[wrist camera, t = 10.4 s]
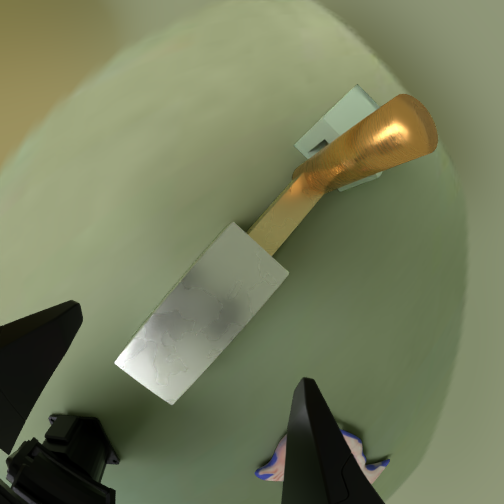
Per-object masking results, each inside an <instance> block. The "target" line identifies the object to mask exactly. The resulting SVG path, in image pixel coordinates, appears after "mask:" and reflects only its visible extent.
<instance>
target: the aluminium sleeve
mask: <svg viewBox="0 0 504 504" xmlns="http://www.w3.org/2000/svg"><path fill="white" fill-rule="evenodd" d="M289 274H290V273H289V272H288V271H287V270H286V269H285V268H284V267H283V266H282V265H280V264H279V263H278V262H277V261H276V260H275V259H274V258H273V257H272V256H271V255H270V254H268V253H267V252H266V251H265V250H264V249H263V248H262V247H261V246H260V245H259V244H257V243H256V242H255V241H254V240H253V239H252V238H251V237H250V236H249V235H248V234H246V233H245V232H244V231H243V230H242V229H241V228H240V227H239V226H238V225H237V224H235V223H234V222H232V223H230V224H229V225H228V226H226V227H225V228H224V229H223V230H222V231H221V232H220V234H219V235H218V236H217V237H216V238H215V239H214V240H213V241H212V243H211V244H210V245H209V246H208V247H207V248H206V249H205V251H204V252H203V253H202V254H201V255H200V256H199V257H198V259H197V260H196V261H195V262H194V263H193V264H192V266H191V267H190V268H189V269H188V270H187V271H186V273H185V274H184V275H183V276H182V277H181V278H180V280H179V281H178V282H177V283H176V284H175V285H174V287H173V288H172V289H171V290H170V291H169V293H168V294H167V295H166V296H165V297H164V299H163V300H162V301H161V302H160V303H159V305H158V306H157V307H156V308H155V309H154V311H153V312H152V313H151V314H150V315H149V317H148V318H147V319H146V320H145V322H144V323H143V324H142V325H141V327H140V328H139V329H138V330H137V331H136V333H135V334H134V335H133V336H132V338H131V339H130V340H129V342H128V343H127V344H126V346H125V347H124V349H123V350H122V352H121V353H120V355H119V356H118V358H117V359H116V361H115V362H114V363H115V364H116V365H118V366H119V367H120V368H121V369H123V370H124V371H125V372H126V373H128V374H129V375H130V376H131V377H133V378H134V379H135V380H137V381H138V382H139V383H141V384H142V385H143V386H145V387H146V388H148V389H149V390H150V391H152V392H153V393H155V394H156V395H157V396H159V397H160V398H162V399H163V400H165V401H166V402H168V403H169V404H171V405H173V404H174V403H175V402H176V401H177V400H178V399H179V398H180V396H181V395H182V394H183V393H184V392H185V391H186V390H187V389H188V388H189V387H190V386H191V385H192V384H193V383H194V382H195V381H196V380H197V379H198V377H199V376H200V375H201V374H202V373H203V372H204V371H205V370H206V369H207V368H208V367H209V366H210V364H211V363H212V362H213V361H214V360H215V359H216V358H217V357H218V356H219V355H220V353H221V352H222V351H223V350H224V349H225V348H226V347H227V346H228V345H229V343H230V342H231V341H232V340H233V339H234V338H235V337H236V336H237V334H238V333H239V332H240V331H241V330H242V329H243V328H244V327H245V325H246V324H247V323H248V322H249V321H250V320H251V319H252V317H253V316H254V315H255V314H256V313H257V312H258V310H259V309H260V308H261V307H262V306H263V305H264V303H265V302H266V301H267V300H268V299H269V298H270V296H271V295H272V294H273V293H274V292H275V290H276V289H277V288H278V287H279V286H280V284H281V283H282V282H283V281H284V280H285V278H286V277H287V276H288V275H289Z"/></svg>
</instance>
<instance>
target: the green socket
mask: <svg viewBox="0 0 504 504" xmlns="http://www.w3.org/2000/svg"><path fill="white" fill-rule="evenodd" d="M379 108H380V107H379V106H378V105H377V104H376V102H375V101H374V100H373V99H372V98H371V97H370V96H369V95H368V94H367V93H366V92H365V91H364V90H363V89H362V88H361V87H360V86H359V85H358V84H357V85H356V86H355V87H354V88H353V89H352V90H350V91H349V92H348V93H347V94H346V95H345V96H344V97H343V98H342V99H341V100H340V101H339V102H338V103H336V104H335V105H334V106H333V107H332V108H331V109H330V110H329V111H328V112H327V113H326V114H325V115H324V116H323V117H322V118H321V119H320V120H319V121H318V122H317V123H316V124H315V125H314V126H313V127H312V128H311V129H310V130H309V131H308V132H307V133H306V134H305V135H304V136H303V137H302V138H301V139H300V140H299V141H298V142H297V143H296V144H295V145H294V146H295V147H296V148H297V149H298V150H299V151H300V152H301V153H302V154H303V155H304V156H305V157H306V158H307V159H309V158H311V157H312V156H313V155H315V154H316V153H317V152H319V151H320V150H321V149H322V148H323V146H324V145H325V144H326V143H327V142H328V143H331V142H332V141H334V140H335V139H336V138H338V137H339V136H340V135H342V134H343V133H345V132H346V131H347V130H349V129H350V128H352V127H353V126H354V125H356V124H357V123H359V122H360V121H361V120H363V119H364V118H366V117H367V116H368V115H370V114H371V113H373V112H374V111H376V110H377V109H379ZM382 172H383V171H381V172H379V173H376V174H374V175H371V176H368V177H366V178H363V179H361V180H358V181H356V182H353V183H351V184H348V185H346V186H343V187H341V188H338V190H339V191H340V192H341V191H344V190H346V189H349V188H352V187H355V186H357V185H360V184H363V183H366V182H368V181H371V180H374V179H377V178H379V177H380V175H381V174H382Z"/></svg>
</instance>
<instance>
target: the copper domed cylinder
mask: <svg viewBox="0 0 504 504" xmlns="http://www.w3.org/2000/svg"><path fill="white" fill-rule="evenodd" d="M437 143H438V134H437V129H436V126H435V123H434V121H433V119H432V117H431V115H430V113H429V112H428V110H427V109H426V108H425V107H424V105H423V104H422V103H421V102H419V101H418V100H417V99H416V98H414V97H412V96H410V95H407V94H400V95H398V96H396V97H395V98H393V99H392V100H390V101H389V102H387V103H386V104H384V105H383V106H381V107H380V108H379V109H377V110H376V111H374V112H373V113H371V114H370V115H368V116H367V117H366V118H364V119H363V120H361V121H360V122H359V123H357V124H356V125H354V126H353V127H352V128H350V129H349V130H347V131H346V132H345V133H343V134H342V135H340V136H339V137H338V138H336V139H335V140H334V141H332V142H331V143H328V142H327V143H326V144H325V145H324V146H323V148H322V149H321V150H320V151H319V152H317V153H316V154H315V155H313V156H312V157H311V158H309V159H308V160H307V161H305V162H304V163H303V164H301V165H300V166H299V167H297V168H296V169H295V171H294V173H293V176H292V182H291V183H290V184H289V185H288V186H287V187H286V188H285V189H284V190H283V192H282V193H281V194H280V195H279V196H278V197H277V198H276V199H275V200H274V202H273V203H272V204H271V205H270V206H269V207H268V208H267V209H266V211H265V212H264V213H263V214H262V215H261V216H260V217H259V218H258V220H257V221H256V222H255V223H254V224H253V225H252V226H251V227H250V229H249V230H248V231H247V232H246V234H248V235H249V236H250V237H251V238H252V239H253V240H254V241H255V242H256V243H257V244H259V245H260V246H261V247H262V248H263V249H264V250H265V251H266V252H267V253H268V254H270V255H271V256H272V255H273V254H274V253H275V252H276V251H277V249H278V248H279V247H280V246H281V245H282V244H283V242H284V241H285V240H286V239H287V238H288V236H289V235H290V234H291V233H292V232H293V230H294V229H295V228H296V227H297V226H298V224H299V223H300V222H301V221H302V220H303V218H304V217H305V216H306V215H307V214H308V212H309V211H310V210H311V209H312V208H313V206H314V205H315V204H316V203H317V202H318V200H319V199H320V198H321V197H322V196H323V194H326V193H328V192H331V191H333V190H336V189H338V188H341V187H343V186H346V185H348V184H351V183H353V182H356V181H358V180H361V179H363V178H366V177H368V176H371V175H374V174H376V173H379V172H381V171H384V170H387V169H389V168H392V167H394V166H397V165H400V164H402V163H405V162H408V161H410V160H413V159H416V158H419V157H421V156H424V155H427V154H429V153H432V152H433V151H434V150H435V149H436V147H437Z"/></svg>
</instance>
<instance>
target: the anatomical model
mask: <svg viewBox="0 0 504 504" xmlns="http://www.w3.org/2000/svg"><path fill="white" fill-rule="evenodd" d="M340 430H341V429H340ZM341 432H342V434H343V436H344V438H345V440H346V442H347V444H348V446H349V448H350V449H351V451H352V453H353V455H354V457H355V459H356V461H357V463H358V464H359V466H360V468H361V470H362V471H363V473H364V474H365V476H366V477H367V479H368V481H369V482H370V483H371V484H372V483H373V482H374V481H375V480H376V479H377V477H378V476H379V475H380V474H381V472H382V471H383V470H384V469H385V467H386V466H387V464H388V463H389V461H390V459H388V460H384V461H381V462H378V463H374V464H368V465H365V463H366V457H365V455H364V454H363V447H362V442H361V439H360V438H358V437H356V436H355V435H353V434H351V433H349V432H347V431H344V430H341ZM286 440H287V434H286V435H285V436H284V437H283V438H282V439H281V440H280V442H279V444H278V446H277V448H276V450H275V452H274V455H273V457H272V459H271V460H270V462H269V463H268V464H266V465H265V466H263V467H261V468H259V469H257V470H256V472H255V475H256V476H257V477H258V478H260V479H263V480H267V481H283V480H284V468H285V455H286Z"/></svg>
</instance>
